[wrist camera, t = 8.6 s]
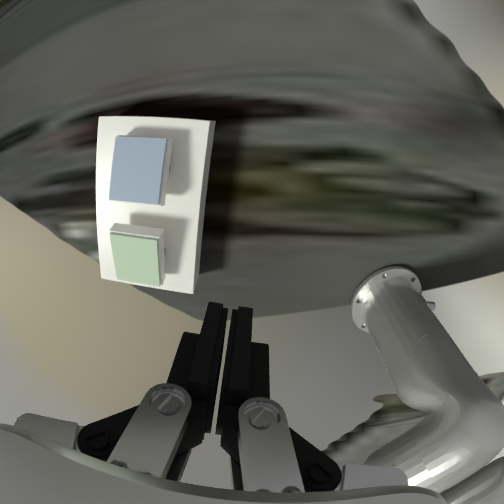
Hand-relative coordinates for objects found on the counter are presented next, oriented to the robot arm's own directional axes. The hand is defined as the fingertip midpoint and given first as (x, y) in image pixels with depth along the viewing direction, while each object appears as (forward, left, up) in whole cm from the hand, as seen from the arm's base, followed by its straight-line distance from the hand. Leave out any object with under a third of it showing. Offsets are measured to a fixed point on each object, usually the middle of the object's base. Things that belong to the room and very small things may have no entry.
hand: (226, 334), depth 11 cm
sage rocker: (+11, +8, -20) cm, 24 cm away
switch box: (+11, +3, -27) cm, 30 cm away
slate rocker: (+11, -2, -20) cm, 23 cm away
